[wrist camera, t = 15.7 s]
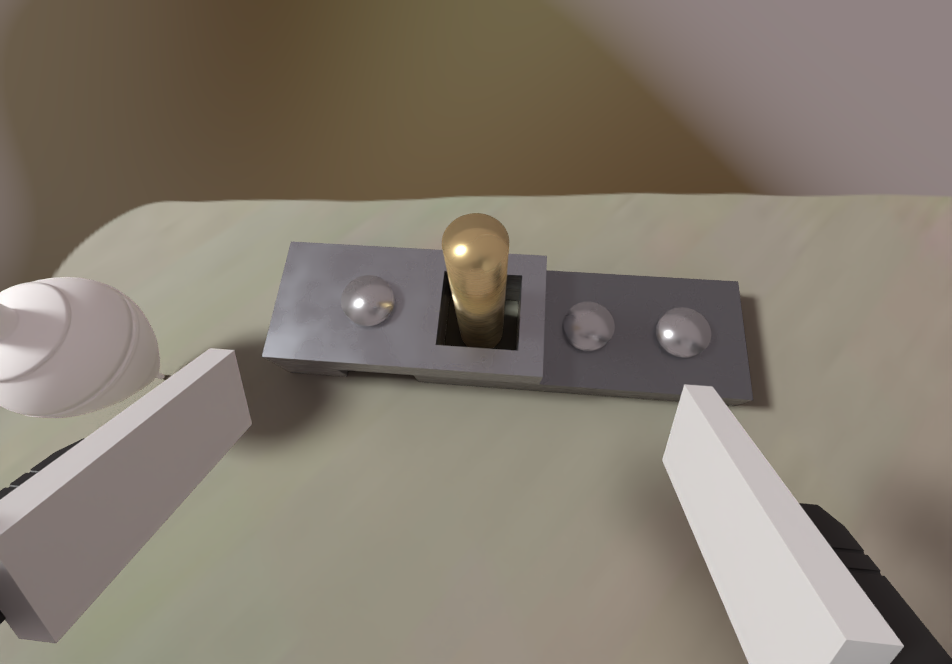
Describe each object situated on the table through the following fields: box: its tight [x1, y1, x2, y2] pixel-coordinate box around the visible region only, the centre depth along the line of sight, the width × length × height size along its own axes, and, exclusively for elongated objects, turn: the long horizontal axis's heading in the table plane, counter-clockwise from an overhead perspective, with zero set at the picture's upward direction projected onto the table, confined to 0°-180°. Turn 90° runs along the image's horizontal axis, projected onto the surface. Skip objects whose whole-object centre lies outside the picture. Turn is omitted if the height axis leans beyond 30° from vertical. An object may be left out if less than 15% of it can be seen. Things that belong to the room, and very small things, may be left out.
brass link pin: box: [442, 213, 509, 349], centre depth 25 cm, size 3×3×12 cm
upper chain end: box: [262, 242, 547, 384], centre depth 29 cm, size 17×8×5 cm, turn 85°
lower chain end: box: [414, 271, 753, 406], centre depth 29 cm, size 21×8×3 cm, turn 85°
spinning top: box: [0, 277, 165, 418], centre depth 24 cm, size 8×8×12 cm
